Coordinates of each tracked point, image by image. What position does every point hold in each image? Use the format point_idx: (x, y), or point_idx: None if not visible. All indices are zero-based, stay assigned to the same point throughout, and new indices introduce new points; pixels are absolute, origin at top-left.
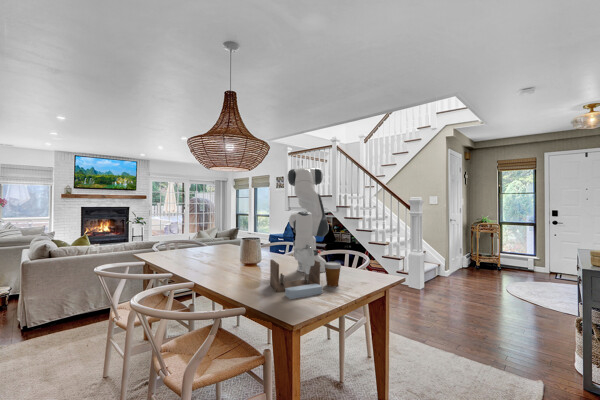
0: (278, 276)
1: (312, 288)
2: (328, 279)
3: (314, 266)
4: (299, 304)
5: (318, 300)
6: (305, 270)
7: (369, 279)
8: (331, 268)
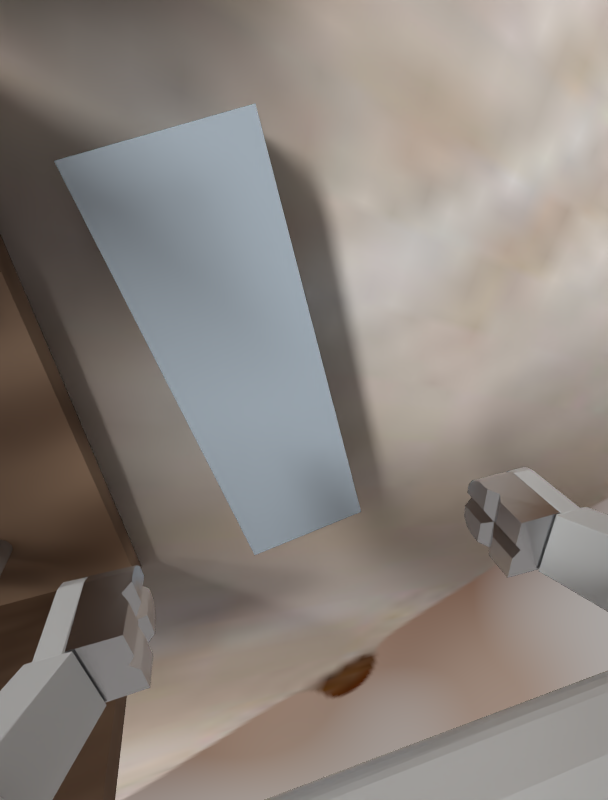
0: (116, 708)
1: (301, 291)
2: None
3: None
4: (458, 421)
5: (440, 256)
6: (531, 567)
7: None
8: None
